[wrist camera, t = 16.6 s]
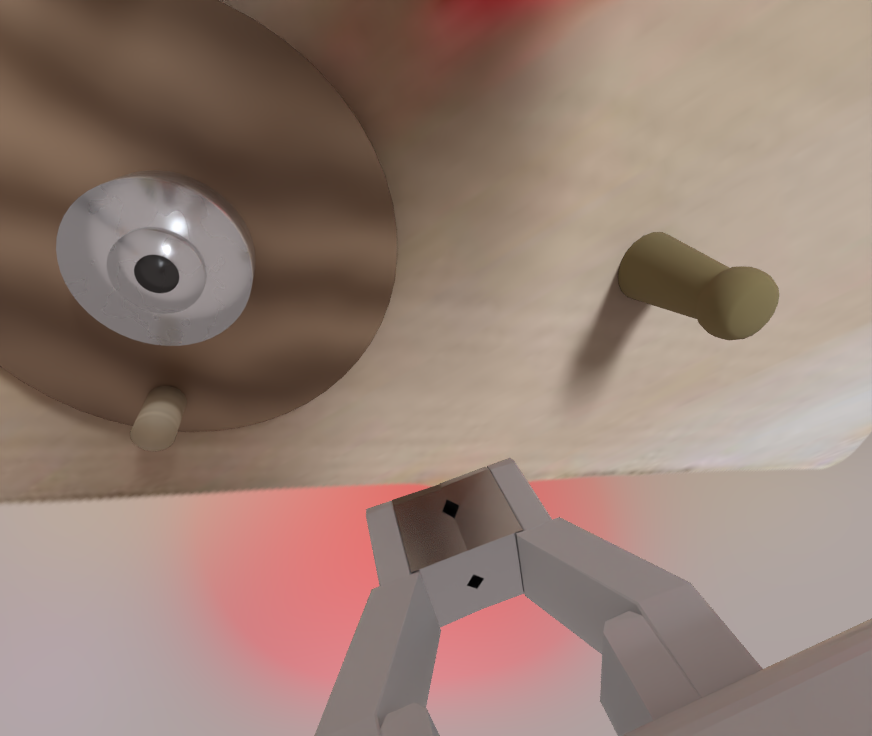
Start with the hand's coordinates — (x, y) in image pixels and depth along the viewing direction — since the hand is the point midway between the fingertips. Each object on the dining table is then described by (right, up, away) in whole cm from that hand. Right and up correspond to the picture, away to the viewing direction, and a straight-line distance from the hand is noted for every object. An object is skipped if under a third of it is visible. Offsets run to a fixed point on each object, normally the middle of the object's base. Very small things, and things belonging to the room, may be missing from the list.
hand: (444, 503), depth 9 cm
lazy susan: (-16, +10, +20) cm, 27 cm away
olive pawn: (+18, +12, +31) cm, 38 cm away
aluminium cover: (-16, +10, +18) cm, 26 cm away
